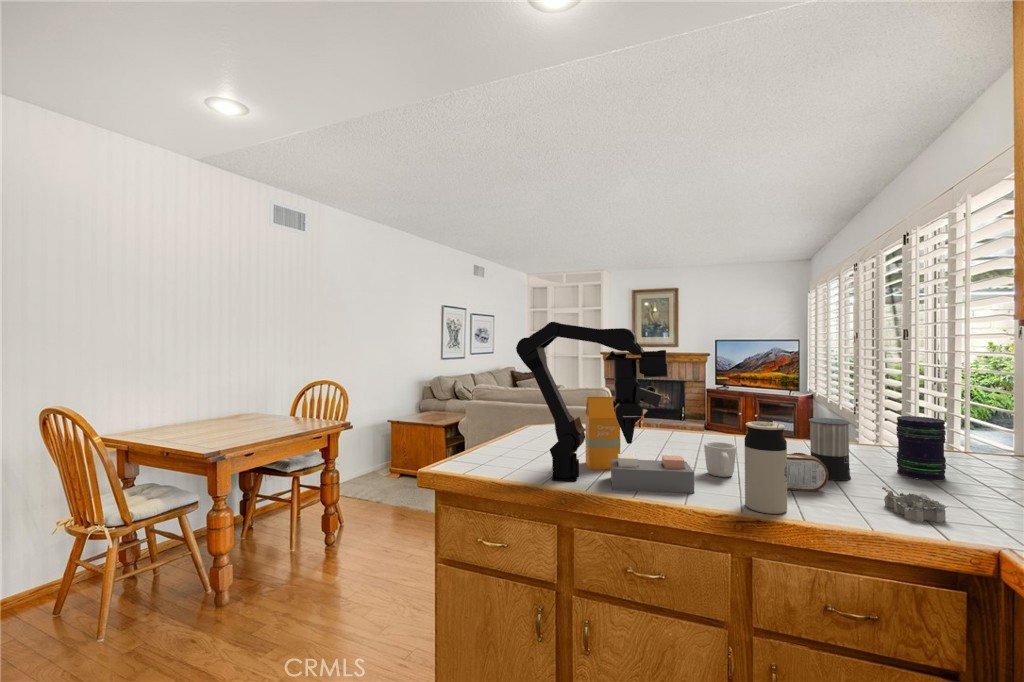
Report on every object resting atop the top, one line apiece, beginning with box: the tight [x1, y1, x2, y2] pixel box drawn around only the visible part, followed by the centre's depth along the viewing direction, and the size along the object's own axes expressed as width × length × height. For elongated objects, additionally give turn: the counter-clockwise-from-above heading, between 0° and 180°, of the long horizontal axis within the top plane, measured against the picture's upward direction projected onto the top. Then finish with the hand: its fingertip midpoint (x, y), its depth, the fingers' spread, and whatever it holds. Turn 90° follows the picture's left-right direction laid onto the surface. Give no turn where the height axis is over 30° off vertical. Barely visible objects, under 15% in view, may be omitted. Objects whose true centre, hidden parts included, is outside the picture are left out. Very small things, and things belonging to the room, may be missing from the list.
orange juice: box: [584, 396, 621, 470], centre depth 136 cm, size 8×9×20 cm
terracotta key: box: [661, 455, 685, 469], centre depth 117 cm, size 5×5×4 cm
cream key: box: [618, 453, 639, 467], centre depth 118 cm, size 5×5×4 cm
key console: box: [610, 459, 695, 494], centre depth 117 cm, size 19×10×5 cm, turn 80°
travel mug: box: [744, 421, 788, 515], centre depth 101 cm, size 8×8×18 cm
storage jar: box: [896, 415, 947, 481], centre depth 125 cm, size 10×10×15 cm
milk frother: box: [791, 417, 852, 481], centre depth 128 cm, size 14×16×15 cm
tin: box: [787, 453, 829, 492], centre depth 114 cm, size 15×3×8 cm, turn 77°
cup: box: [703, 441, 737, 478], centre depth 125 cm, size 11×8×8 cm
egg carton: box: [881, 486, 949, 523], centre depth 98 cm, size 11×8×4 cm
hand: (628, 439), depth 119 cm, fingers open, 9 cm apart
